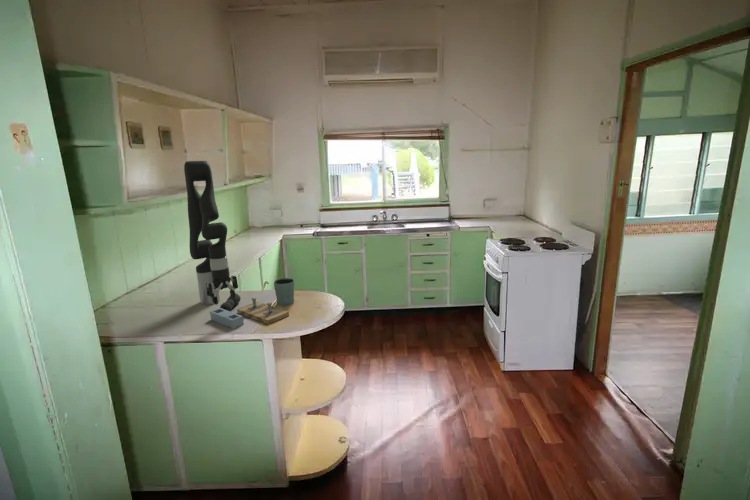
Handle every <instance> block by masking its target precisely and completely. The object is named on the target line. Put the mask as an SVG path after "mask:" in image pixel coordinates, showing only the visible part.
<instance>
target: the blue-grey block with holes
mask: <svg viewBox="0 0 750 500" xmlns="http://www.w3.org/2000/svg"><path fill="white" fill-rule="evenodd" d="M209 314H210V315H209V316H210V320H211V321H214V322H215V323H218V324H221V325H223V326H226V327H228V328H231V329H235V328H238V327H240V326H243V325H245V324H244V315H242V314H239V313H235V312H233V311H228V310H225V309H222V308H220V307H219V308H215V309H214V310H211V311H209Z"/></svg>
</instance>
